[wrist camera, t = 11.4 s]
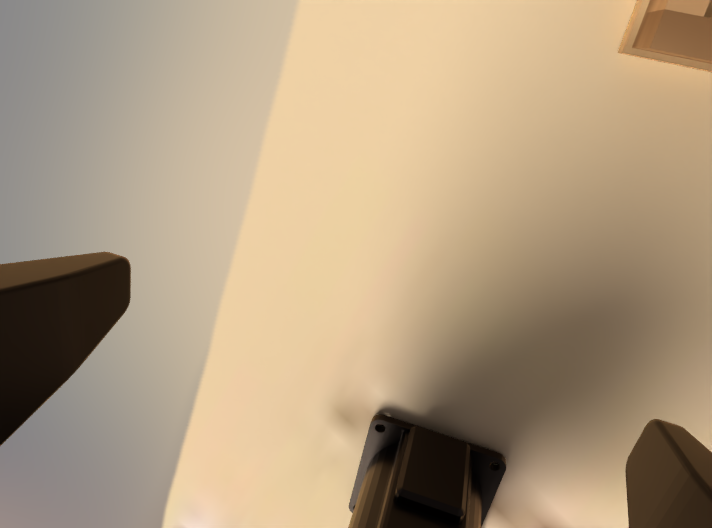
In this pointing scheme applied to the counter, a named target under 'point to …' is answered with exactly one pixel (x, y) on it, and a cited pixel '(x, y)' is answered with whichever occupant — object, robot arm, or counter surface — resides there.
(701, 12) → the holder
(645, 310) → the counter surface
